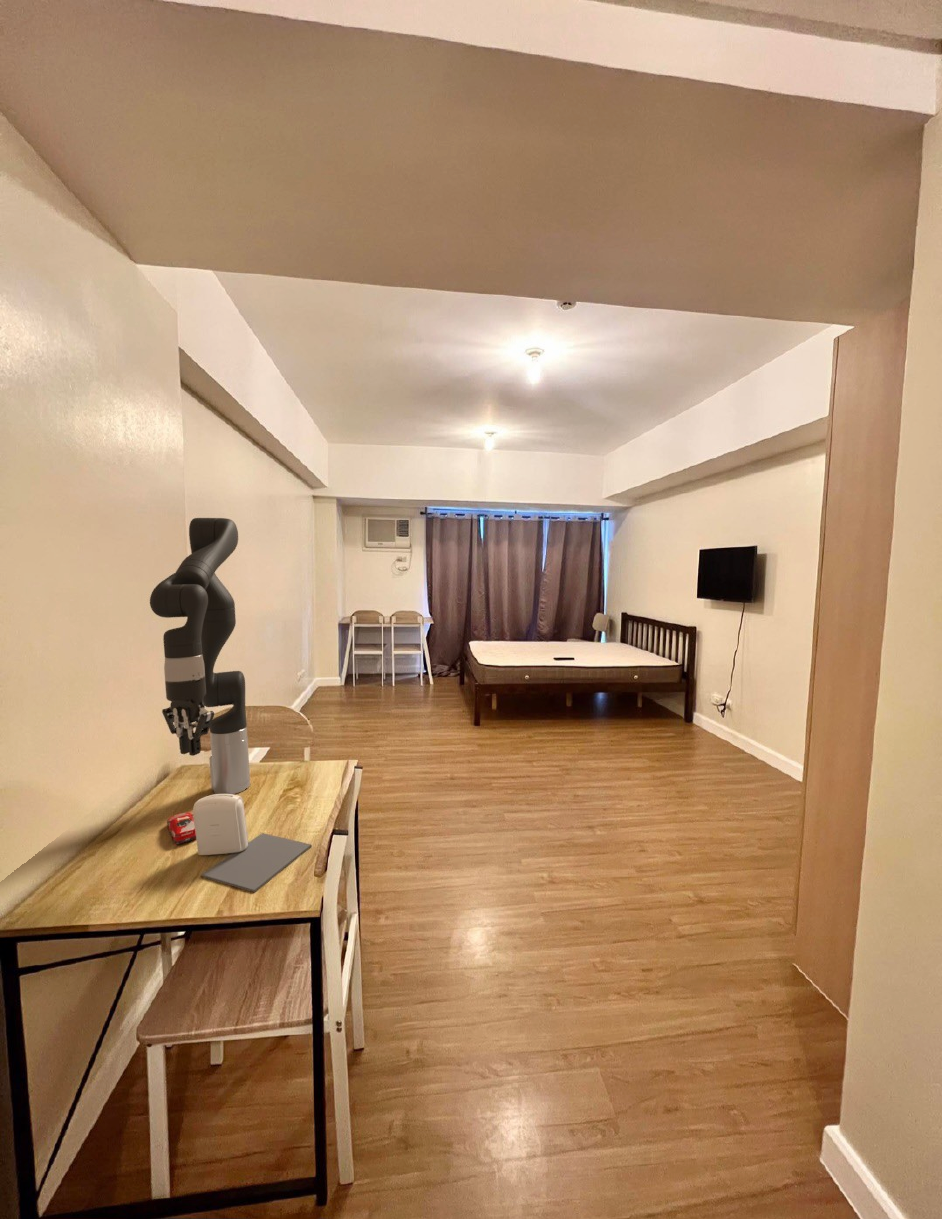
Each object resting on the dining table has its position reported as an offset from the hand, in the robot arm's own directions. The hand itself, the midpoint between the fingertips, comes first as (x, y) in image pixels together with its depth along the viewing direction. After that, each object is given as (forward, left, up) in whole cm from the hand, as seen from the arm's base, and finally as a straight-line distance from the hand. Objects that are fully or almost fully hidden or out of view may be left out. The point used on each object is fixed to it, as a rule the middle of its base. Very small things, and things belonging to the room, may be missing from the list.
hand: (190, 753), depth 106 cm
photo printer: (+8, 0, -21) cm, 22 cm away
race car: (-8, +3, -22) cm, 23 cm away
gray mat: (+18, 0, -21) cm, 28 cm away
